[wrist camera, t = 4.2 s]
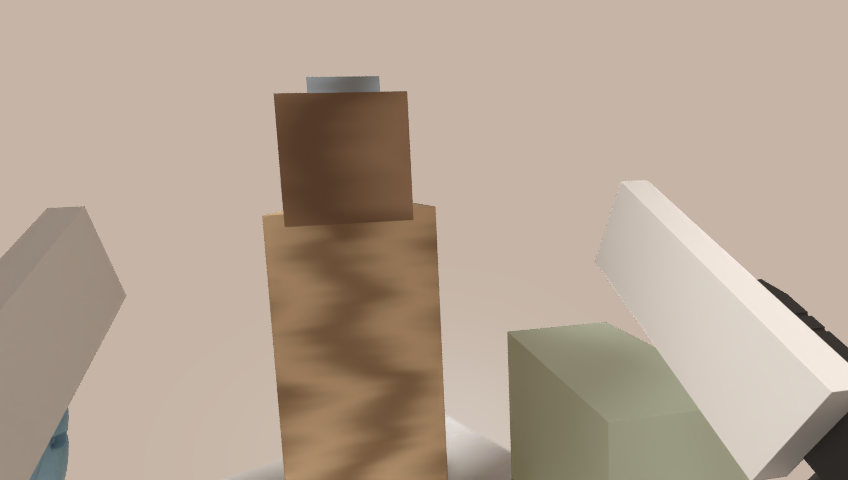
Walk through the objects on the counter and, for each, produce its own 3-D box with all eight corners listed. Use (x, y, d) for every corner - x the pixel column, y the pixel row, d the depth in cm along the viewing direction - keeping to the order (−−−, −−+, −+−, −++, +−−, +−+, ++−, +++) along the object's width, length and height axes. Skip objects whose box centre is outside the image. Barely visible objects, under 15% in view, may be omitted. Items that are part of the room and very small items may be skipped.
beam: (267, 228, 14) (241, -87, 13) (320, 206, 38) (312, 92, 37) (428, 218, 15) (415, -80, 14) (381, 202, 38) (375, 91, 38)
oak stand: (306, 730, 27) (262, 215, 24) (320, 566, 39) (292, 208, 36) (457, 698, 28) (435, 206, 25) (426, 549, 40) (408, 202, 37)
